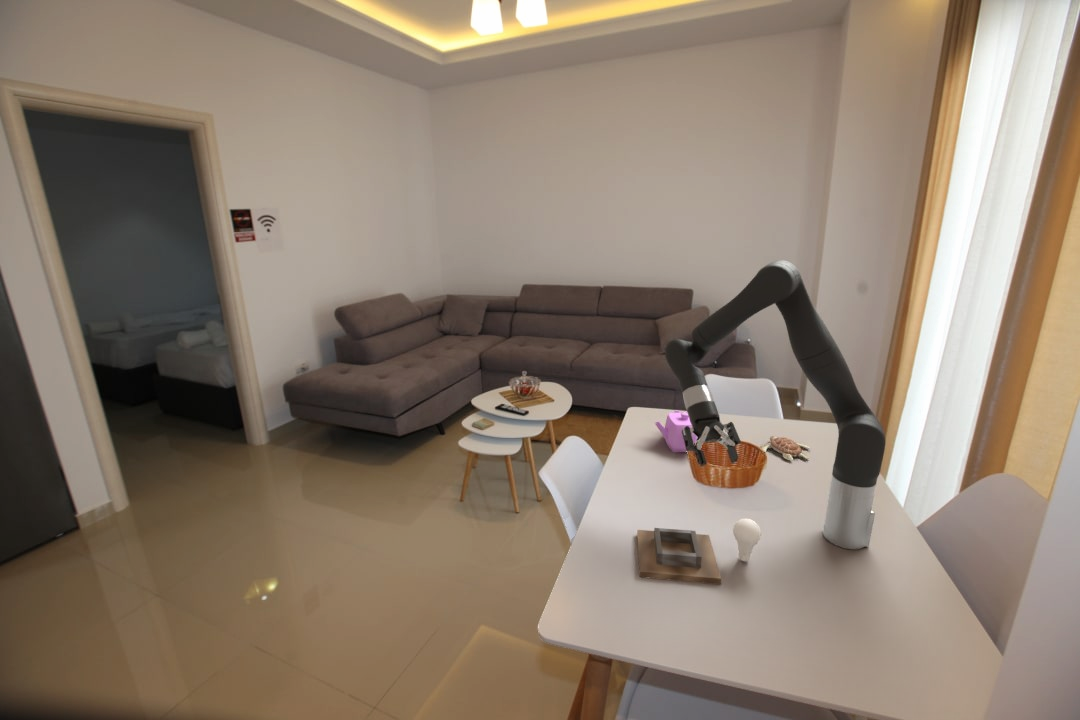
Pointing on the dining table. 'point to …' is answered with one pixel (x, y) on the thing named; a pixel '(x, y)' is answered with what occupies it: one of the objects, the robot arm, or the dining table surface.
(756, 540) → the lightbulb
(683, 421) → the teakettle
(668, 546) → the bulb holder
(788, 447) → the decorative turtle
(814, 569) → the dining table surface
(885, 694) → the dining table surface
